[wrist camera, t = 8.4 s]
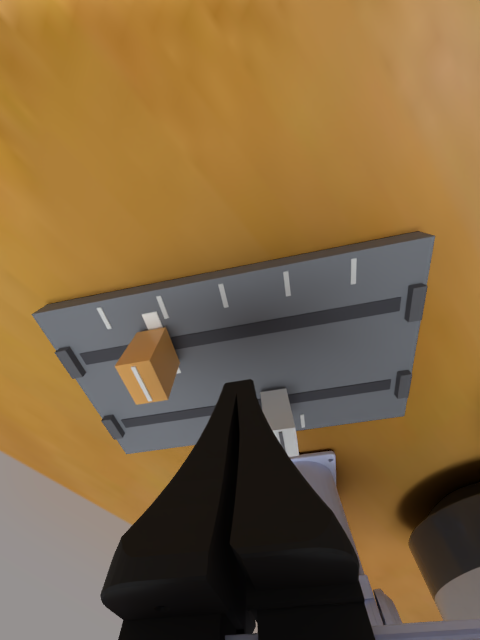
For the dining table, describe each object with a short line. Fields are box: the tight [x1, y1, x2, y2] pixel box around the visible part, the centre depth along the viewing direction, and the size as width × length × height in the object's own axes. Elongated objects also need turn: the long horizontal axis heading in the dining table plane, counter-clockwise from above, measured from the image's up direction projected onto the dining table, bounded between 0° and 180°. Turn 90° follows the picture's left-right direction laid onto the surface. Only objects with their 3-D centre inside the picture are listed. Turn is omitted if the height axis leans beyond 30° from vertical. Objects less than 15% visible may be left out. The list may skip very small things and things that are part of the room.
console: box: [32, 231, 435, 454], centre depth 19 cm, size 15×25×2 cm, turn 101°
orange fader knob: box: [115, 327, 180, 405], centre depth 16 cm, size 3×2×4 cm, turn 11°
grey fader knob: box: [260, 388, 299, 457], centre depth 18 cm, size 3×2×4 cm, turn 11°
